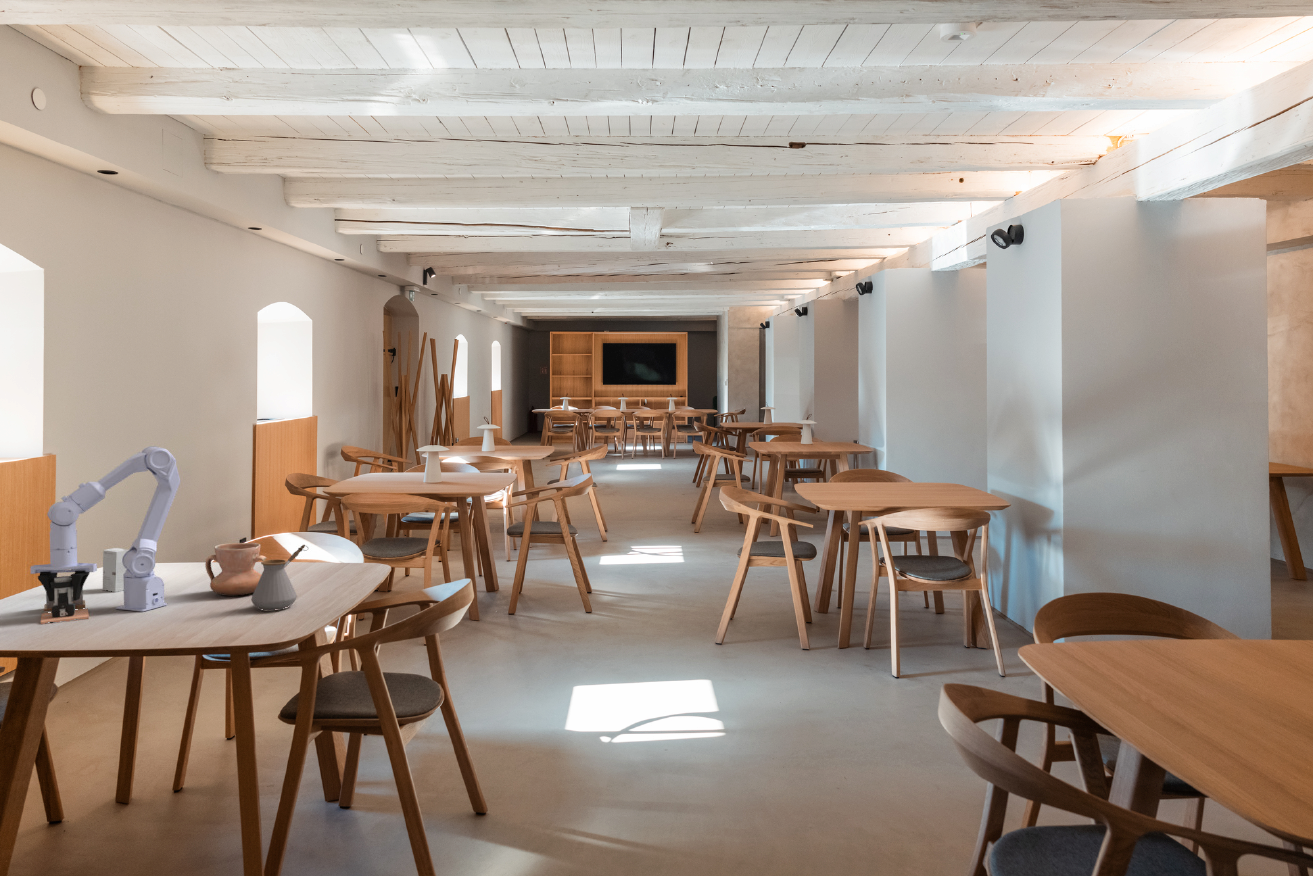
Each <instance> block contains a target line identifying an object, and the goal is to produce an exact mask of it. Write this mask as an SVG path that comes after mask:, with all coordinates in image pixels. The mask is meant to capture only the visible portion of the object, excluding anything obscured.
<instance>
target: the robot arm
mask: <svg viewBox="0 0 1313 876" xmlns="http://www.w3.org/2000/svg"><path fill="white" fill-rule="evenodd" d="M177 466H178V465H177V459H176V458H175V456H173V454H172V453H171V452H170V450H168V449H166V448H164V447H159V446H147V447H145V448H143V449H142V451H139V452H137V453H135V454H133V455H132V456H130V457H129V458H127V459H126V460H125V461H123V462H122V463H120V464H119V465H118V466H116V467H114V469H112V470H111V471H110V472H108V473H106V475H104V476H103V477H102V478H100V479H99V480H97V481H87V482H86V483H84V482H82V483H80V484H78V488H77V489H76V490H74V491H73V492H71V493H70V494H68V495H67V496H65V495H63V496H62V497H61V498H60V499H61V500H62V501H61V500H60V501H57V502H54V503H53V504H52V505H51V506H50V507H49V509H48V512H47V513H46V515H47V517H48V519H49V520H50V525H49V528H50V530H49V551H50V552H49V563H48V564H33V565H31V566H30V574H31V575H32V574H33V575H34V574H35V575H36V574H39V575H38V576H37V579H38V581H39V582H40V584H41V585H42V587H43V588H44V590H45V594H46V593H47V596H48V599H49V601H54V600H55V593H54V588H51V584H50V582H52V581H54V578H55V577H58V573H72V574H70V575H69V576H71V580H72V585H73V601H76V600H78V599H80V595H81V591H82V588H84V585H85V582H86V581H87V578H88V577H89V575H90V573H95V572H97V570H98V567H97V566H98V563H83V562H78V535H77V534H78V533H77V532H78V529H77V523H76V522H77V521H78V519H79V516H80V514H84V513H85V512H87V511H89V510H90V509H91V508H92V507H94V506H96V505H97V504H98V503H100V502H101V501H102V500H104V499H105V497H106V492H108V490H110V489H112V488H113V487H114V486H116V485H118V484H119V483H120V482H122V481H124V480H125V479H127V478H128V477H129V476H131V475H133V474H135V473H143V472H148V471H149V472H150V473H152V475H153V477H154V478H155V480H156V482H157V486H156V488H155V490H154V494H153V495H152V499H151V501H150V502H149V503H150V504H149V506H148V509H147V511H146V513H145V517H144V518H143V522H142V524H141V525H140V529H139V531H138V533H137V534H138V535H137V536H136V538H135V540H133V542H132V543H131V546H130V548H129V549H127V550H128V551H127V552H126V553H125V554H124V556H123V558H122V563H123V566H124V567H125V568H126V569H127V570H126V572H125V573H124V574H123V581H124V591H123V605H118V606H115V610H122V611H125V610H126V611H133V612H146V611H150V610H153V609H157V608H160V607H164V606H167V604H168V603H166V602H165V583H164V580H163V579H162V578H161V577H160V576H157V575H156V574H155V570H154V569H155V567H156V558H155V557H156V553H157V551H158V550H157V546H158V545H157V544H158V541H159V539H160V536H161V533H162V530H163V527H164V526H165V523H166V520H167V518H168V515H169V513H170V509H171V507H172V505H173V503H174V500H175V497H176V494H177V492H178V489H179V486H180V484H181V477H180V474H179V470H178V467H177Z"/></svg>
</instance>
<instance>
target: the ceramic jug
mask: <svg viewBox="0 0 1313 876" xmlns="http://www.w3.org/2000/svg"><path fill="white" fill-rule="evenodd" d="M260 551H261V544H260V543H256V542H237V543H236V542H234V543H233V542H232V543H222V544H221V543H220V544H218V545H217V544H216V545H215V546H214V554H212V555H209V556H208V557H207V558H206V559H205V563H204V566H205V571H206V573H207V575H208V577H209V579H210V583H209V587H210V589H211V591H212V592H214V593H215V594H219V595H222V596H227V597H231V596H232V597H233V596H234V597H237V596H238V595H239V596H245V594H246V595H250V594H253V593H254V591H255V589H256V587H257V584H258V582H259V580H260V577H261V575H262V574H261V573H260V572H258V571H256V570H255V569H254V567H255V565H256V563H257V562H259V561H261V562H263V561H266V559H267V556H265V555H260ZM212 561H215V562H217V563H218V565H219V567H220V569H221V572H219V574H217V575H216V576H215V574H214V571H212V570H213V569H212ZM239 596H238V597H239Z"/></svg>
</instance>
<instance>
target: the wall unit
mask: <svg viewBox="0 0 1313 876" xmlns="http://www.w3.org/2000/svg"><path fill="white" fill-rule="evenodd" d="M83 588H84V587H83ZM83 588H82V591H81V595H80V599H78V600H76V601H73V586H72V587H71V598H72V602H73V603H72V604H74V605H75V609H83V608H85V609H86V600H85V599H84V598H83V597H84V593H83V591H84V589H83ZM67 592H68V589H67ZM58 593H59V590H58ZM45 597H46V599H45V601H46V604H45V603H44V606H43V607H44V608H43V613H48V612H47V611H52V607H53V606H58V605H53V604H54V603H55V600H54V601H49V599H48V596H47V593H46V592H45ZM58 598H59V596H58ZM68 604H69V603H68Z"/></svg>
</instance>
